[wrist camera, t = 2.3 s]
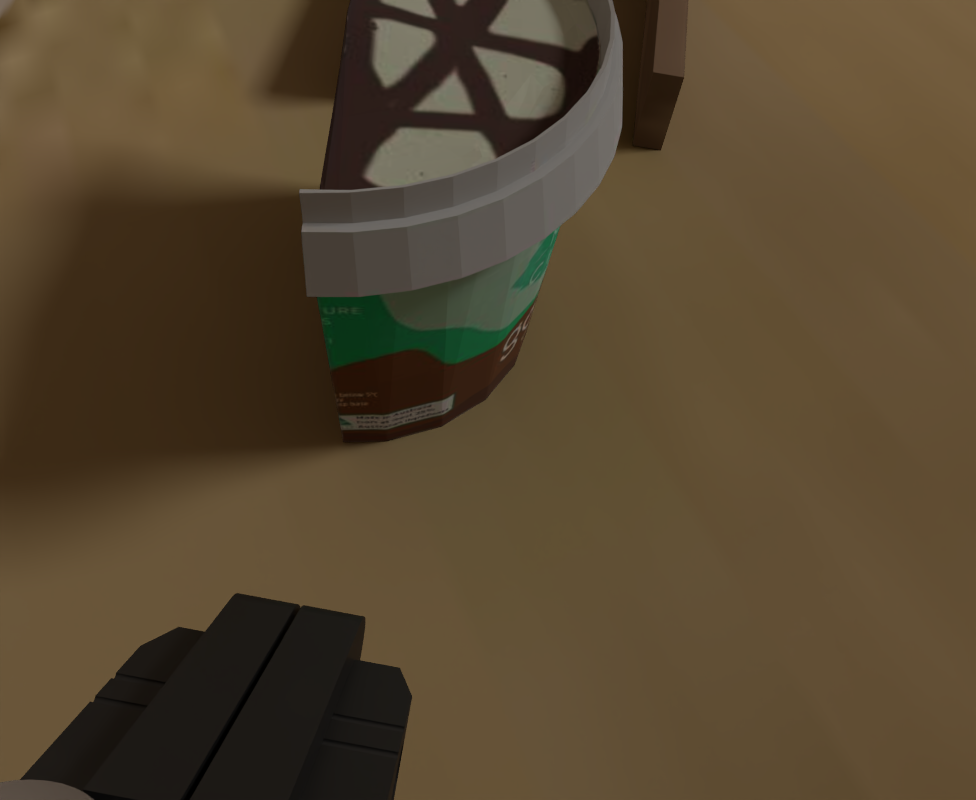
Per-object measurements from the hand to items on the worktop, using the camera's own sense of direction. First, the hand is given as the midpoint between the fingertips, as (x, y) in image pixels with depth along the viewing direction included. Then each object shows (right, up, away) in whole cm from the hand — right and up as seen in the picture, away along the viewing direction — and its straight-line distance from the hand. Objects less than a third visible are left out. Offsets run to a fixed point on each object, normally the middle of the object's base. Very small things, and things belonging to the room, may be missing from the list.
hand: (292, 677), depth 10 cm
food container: (+2, +6, +16) cm, 17 cm away
